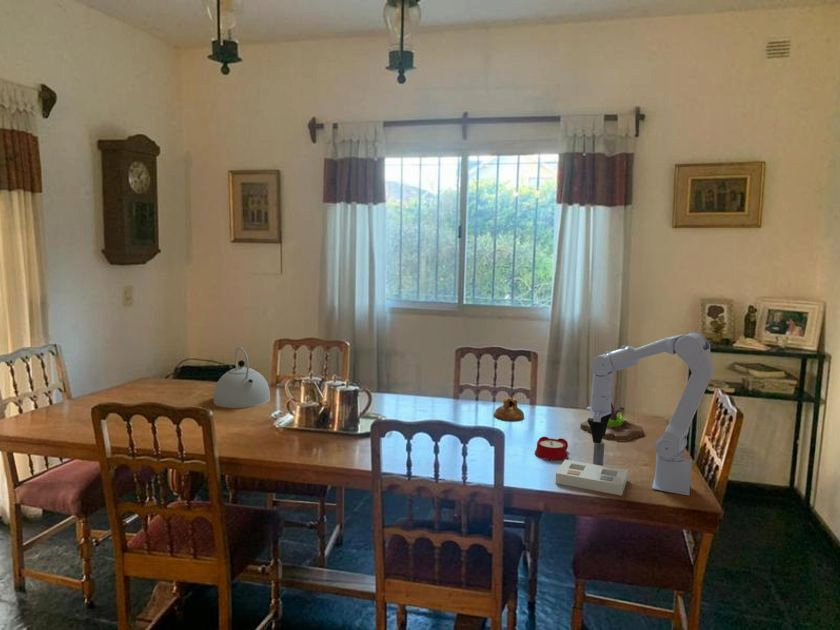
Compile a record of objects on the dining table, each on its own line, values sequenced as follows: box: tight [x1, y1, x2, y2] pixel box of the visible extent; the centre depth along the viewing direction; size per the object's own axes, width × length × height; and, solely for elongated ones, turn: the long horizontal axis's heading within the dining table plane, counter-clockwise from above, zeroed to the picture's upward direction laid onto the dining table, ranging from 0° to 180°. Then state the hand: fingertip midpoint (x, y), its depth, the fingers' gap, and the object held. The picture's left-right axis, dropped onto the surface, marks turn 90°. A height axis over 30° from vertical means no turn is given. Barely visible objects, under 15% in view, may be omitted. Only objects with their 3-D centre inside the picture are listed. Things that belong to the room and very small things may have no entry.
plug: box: [592, 440, 605, 466], centre depth 181 cm, size 3×3×9 cm
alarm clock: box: [534, 436, 569, 462], centre depth 194 cm, size 10×6×15 cm
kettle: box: [213, 346, 271, 409], centre depth 248 cm, size 25×23×22 cm
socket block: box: [555, 459, 629, 496], centre depth 171 cm, size 18×12×3 cm, turn 65°
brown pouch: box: [493, 397, 525, 422], centre depth 234 cm, size 12×12×7 cm
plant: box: [579, 402, 644, 442], centre depth 218 cm, size 20×20×11 cm
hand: (598, 439), depth 180 cm, fingers open, 7 cm apart
